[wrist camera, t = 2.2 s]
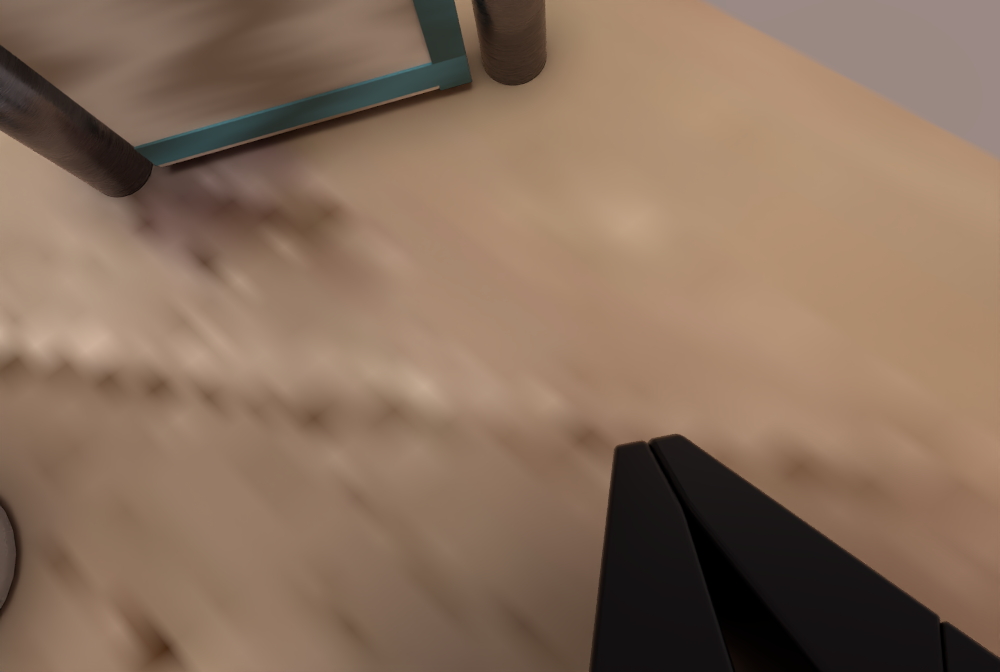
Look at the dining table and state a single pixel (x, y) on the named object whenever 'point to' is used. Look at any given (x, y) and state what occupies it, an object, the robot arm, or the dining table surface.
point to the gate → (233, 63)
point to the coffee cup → (6, 555)
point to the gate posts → (122, 170)
